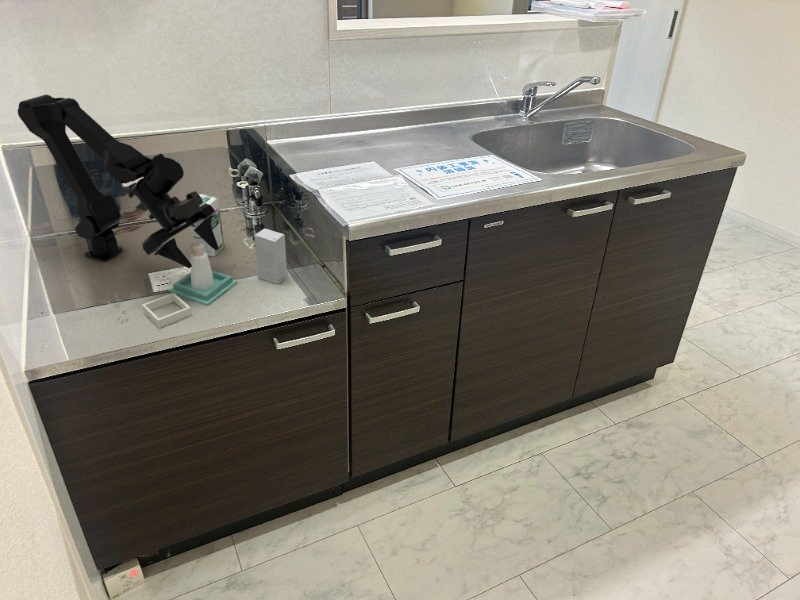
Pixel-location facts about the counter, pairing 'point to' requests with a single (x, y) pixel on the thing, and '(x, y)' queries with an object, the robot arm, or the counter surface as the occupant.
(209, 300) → the teal square tray
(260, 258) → the skincare box
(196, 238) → the syrup box
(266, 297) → the counter surface
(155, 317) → the white square tray
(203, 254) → the pepper shaker
